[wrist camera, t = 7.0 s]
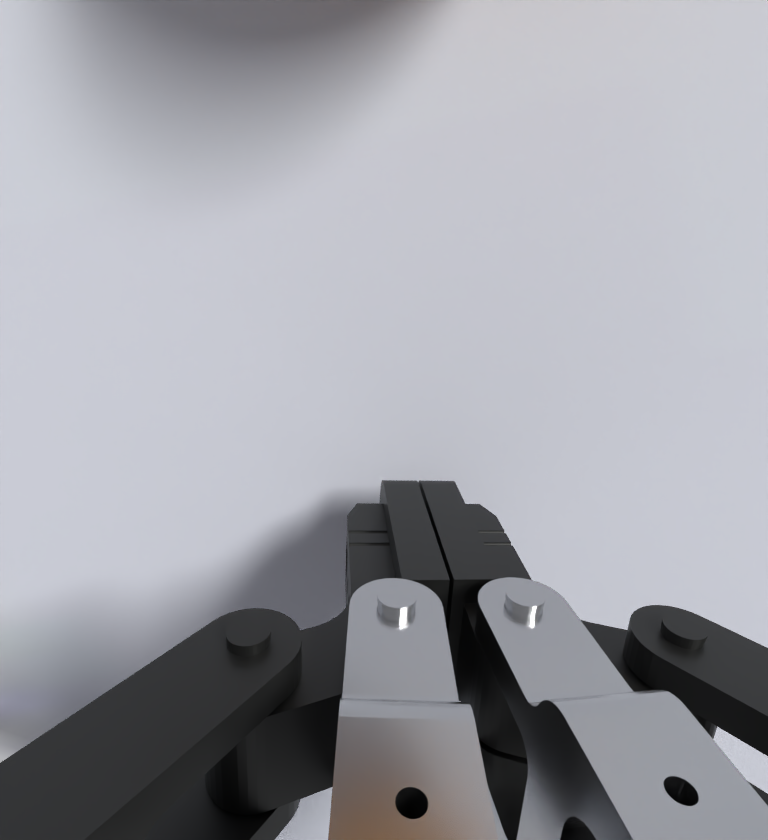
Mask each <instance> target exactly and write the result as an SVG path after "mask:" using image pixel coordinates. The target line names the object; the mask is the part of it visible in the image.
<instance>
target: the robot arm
mask: <svg viewBox="0 0 768 840" xmlns="http://www.w3.org/2000/svg"><path fill="white" fill-rule="evenodd" d="M345 585H346V608H345V609H344V610H343V612H342V613H341V614H339V615H338V616H337V617H336V618H334V619H332V620H330V621H329V622H326V623H324V624H322V625H319V626H316V627H312V628H308V629H305V630H301V631H300V629H299V627H298V626H297V624H296V623H295V622H294V621H293V620H292V619H291V618H289V617H288V616H286V615H285V614H282V613H280V612H277V611H274V610H269V609H258V608H253V609H244V610H238V611H235V612H231V613H228V614H226V615H224V616H221V617H219V618H218V619H216V620H214V621H213V622H211V623H210V624H208V625H207V626H205V627H204V628H202V629H201V630H199V631H198V632H196V633H195V634H193V635H192V636H190V637H189V638H187V639H186V640H184V641H183V642H181V643H180V644H178V645H177V646H175V647H174V648H172V649H171V650H169V651H168V652H166V653H165V654H163V655H162V656H160V657H159V658H157V659H156V660H154V661H153V662H151V663H150V664H148V665H147V666H145V667H144V668H142V669H141V670H139V671H138V672H136V673H135V674H133V675H132V676H130V677H129V678H127V679H126V680H124V681H123V682H121V683H120V684H118V685H117V686H115V687H114V688H112V689H111V690H109V691H108V692H106V693H105V694H103V695H102V696H100V697H99V698H97V699H96V700H94V701H93V702H91V703H90V704H88V705H87V706H85V707H84V708H82V709H81V710H79V711H78V712H76V713H75V714H73V715H72V716H70V717H69V718H67V719H66V720H64V721H63V722H61V723H60V724H58V725H57V726H55V727H54V728H52V729H51V730H49V731H48V732H46V733H45V734H43V735H42V736H40V737H39V738H37V739H36V740H34V741H33V742H31V743H30V744H28V745H27V746H25V747H24V748H22V749H21V750H19V751H18V752H16V753H15V754H13V755H12V756H10V757H9V758H7V759H6V760H4V761H3V762H1V763H0V840H274V839H275V838H276V837H277V836H278V835H279V833H280V832H281V831H282V830H283V829H284V827H285V826H286V825H287V824H288V823H289V821H290V820H291V819H292V817H293V816H294V814H295V812H296V810H297V808H298V805H299V802H300V799H301V798H304V797H307V796H309V795H312V794H314V793H317V792H320V791H322V790H325V789H328V788H330V787H333V789H332V801H331V813H330V825H329V837H328V840H768V794H767V793H765V792H764V791H762V790H761V789H759V788H757V787H756V786H754V785H753V784H751V783H750V782H748V781H747V780H746V779H745V778H744V776H743V775H742V774H741V773H740V772H739V770H738V769H737V768H736V767H735V766H734V764H733V763H732V762H731V761H730V759H729V758H728V757H727V756H726V755H725V753H724V752H723V751H722V750H721V749H720V747H719V746H718V745H717V744H716V743H715V741H714V740H713V738H714V735H715V732H716V728H717V726H718V727H719V728H721V729H723V730H724V731H726V732H728V733H730V734H731V735H733V736H735V737H736V738H738V739H740V740H741V741H743V742H745V743H746V744H748V745H750V746H752V747H753V748H755V749H757V750H758V751H760V752H762V753H763V754H765V755H767V756H768V648H766V647H764V646H762V645H760V644H758V643H756V642H754V641H752V640H749V639H747V638H745V637H743V636H741V635H739V634H737V633H735V632H733V631H731V630H728V629H726V628H724V627H722V626H720V625H718V624H716V623H714V622H712V621H709V620H707V619H705V618H703V617H701V616H699V615H697V614H694V613H692V612H689V611H686V610H683V609H679V608H675V607H670V606H662V605H651V606H645V607H642V608H639V609H637V610H636V611H634V613H633V614H632V615H631V618H630V622H629V626H628V630H624V629H619V628H614V627H609V626H604V625H599V624H594V623H590V622H586V621H582V620H580V619H579V617H578V616H577V615H576V613H575V612H574V611H573V609H572V608H571V607H570V605H569V604H568V603H567V601H566V600H565V599H564V598H563V597H562V596H561V595H560V594H559V593H558V592H556V591H555V590H553V589H552V588H550V587H548V586H546V585H544V584H541V583H539V582H536V581H533V580H531V578H530V576H529V574H528V572H527V571H526V569H525V567H524V565H523V563H522V562H521V560H520V558H519V556H518V554H517V553H516V551H515V549H514V547H513V546H511V542H510V540H509V538H508V537H507V535H506V533H504V529H503V528H502V526H501V524H500V522H499V521H498V519H497V517H496V516H495V515H494V514H492V513H491V512H490V511H488V510H487V509H485V508H484V507H483V506H481V505H480V504H465V502H464V500H463V498H462V496H461V494H460V492H459V490H458V488H457V485H456V483H455V482H454V481H419V482H417V481H386V480H382V483H381V491H380V504H356V506H355V507H354V508H353V510H352V511H351V512H350V513H349V515H348V516H347V545H346V576H345ZM459 701H461V702H459Z"/></svg>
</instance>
